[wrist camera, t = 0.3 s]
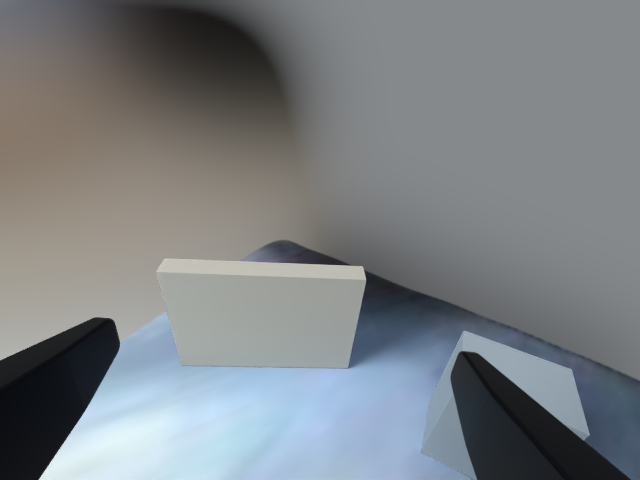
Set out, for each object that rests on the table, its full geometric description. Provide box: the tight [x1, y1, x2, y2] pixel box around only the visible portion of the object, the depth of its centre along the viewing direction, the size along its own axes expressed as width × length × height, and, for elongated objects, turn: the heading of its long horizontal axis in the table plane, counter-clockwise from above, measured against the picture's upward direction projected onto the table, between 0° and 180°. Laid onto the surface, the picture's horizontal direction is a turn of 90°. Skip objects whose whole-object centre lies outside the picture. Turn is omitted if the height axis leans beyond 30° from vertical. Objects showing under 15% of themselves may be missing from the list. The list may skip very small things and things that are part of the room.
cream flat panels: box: [156, 258, 366, 368], centre depth 19 cm, size 12×14×10 cm
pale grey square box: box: [421, 331, 590, 480], centre depth 20 cm, size 5×6×8 cm
